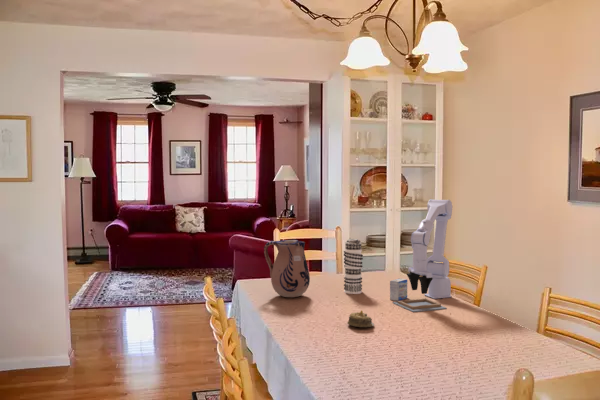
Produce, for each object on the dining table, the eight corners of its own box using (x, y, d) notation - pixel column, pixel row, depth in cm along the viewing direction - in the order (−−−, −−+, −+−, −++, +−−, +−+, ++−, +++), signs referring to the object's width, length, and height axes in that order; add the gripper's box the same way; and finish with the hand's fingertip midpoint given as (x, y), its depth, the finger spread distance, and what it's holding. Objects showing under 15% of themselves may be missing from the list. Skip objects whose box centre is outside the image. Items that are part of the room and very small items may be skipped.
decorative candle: (339, 290, 248) (340, 238, 247) (356, 289, 252) (356, 237, 250) (349, 294, 239) (349, 240, 238) (366, 293, 243) (366, 240, 242)
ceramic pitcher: (309, 300, 228) (309, 243, 227) (261, 299, 229) (261, 243, 228) (309, 291, 246) (310, 239, 245) (265, 291, 246) (265, 238, 245)
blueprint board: (424, 300, 229) (424, 296, 229) (446, 308, 214) (446, 305, 214) (392, 303, 224) (392, 299, 224) (413, 312, 209) (413, 308, 209)
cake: (353, 329, 185) (353, 315, 185) (343, 322, 195) (343, 308, 195) (378, 327, 188) (378, 313, 188) (367, 320, 198) (368, 306, 197)
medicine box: (398, 301, 227) (398, 281, 227) (389, 299, 230) (389, 280, 230) (407, 298, 233) (407, 279, 233) (398, 296, 236) (399, 278, 236)
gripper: (402, 257, 224) (401, 288, 224) (421, 262, 210) (420, 296, 211) (416, 256, 226) (415, 287, 227) (436, 262, 213) (435, 294, 213)
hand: (419, 291), depth 219 cm, fingers open, 7 cm apart
